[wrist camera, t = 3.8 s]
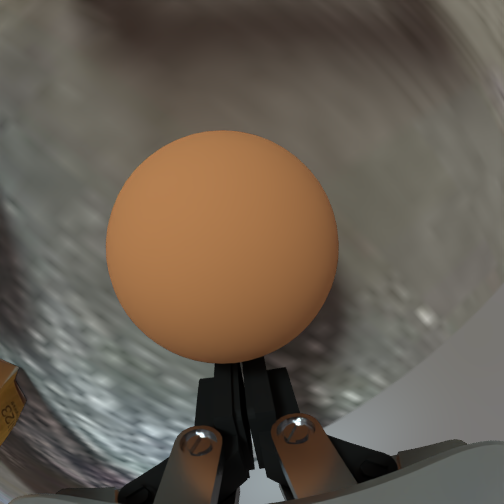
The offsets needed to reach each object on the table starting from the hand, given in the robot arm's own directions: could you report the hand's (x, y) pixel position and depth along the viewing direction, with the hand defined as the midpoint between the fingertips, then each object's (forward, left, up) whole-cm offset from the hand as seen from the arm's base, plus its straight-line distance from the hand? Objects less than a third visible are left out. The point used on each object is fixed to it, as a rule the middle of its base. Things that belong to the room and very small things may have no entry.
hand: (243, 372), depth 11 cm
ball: (0, -5, +2) cm, 6 cm away
